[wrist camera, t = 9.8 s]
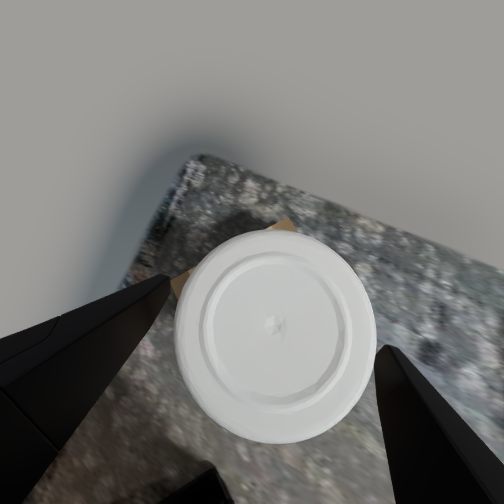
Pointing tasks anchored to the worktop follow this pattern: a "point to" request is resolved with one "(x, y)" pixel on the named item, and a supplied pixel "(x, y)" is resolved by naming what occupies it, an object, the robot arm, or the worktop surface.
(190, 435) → the worktop surface
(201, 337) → the sprinkles bottle
